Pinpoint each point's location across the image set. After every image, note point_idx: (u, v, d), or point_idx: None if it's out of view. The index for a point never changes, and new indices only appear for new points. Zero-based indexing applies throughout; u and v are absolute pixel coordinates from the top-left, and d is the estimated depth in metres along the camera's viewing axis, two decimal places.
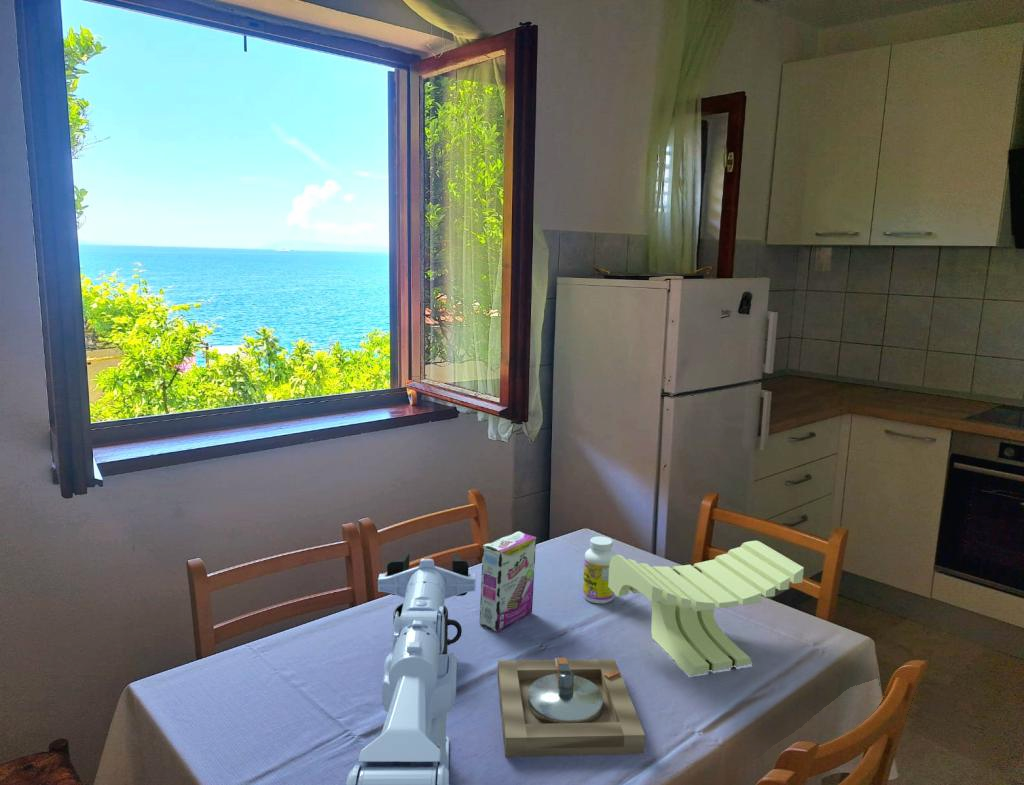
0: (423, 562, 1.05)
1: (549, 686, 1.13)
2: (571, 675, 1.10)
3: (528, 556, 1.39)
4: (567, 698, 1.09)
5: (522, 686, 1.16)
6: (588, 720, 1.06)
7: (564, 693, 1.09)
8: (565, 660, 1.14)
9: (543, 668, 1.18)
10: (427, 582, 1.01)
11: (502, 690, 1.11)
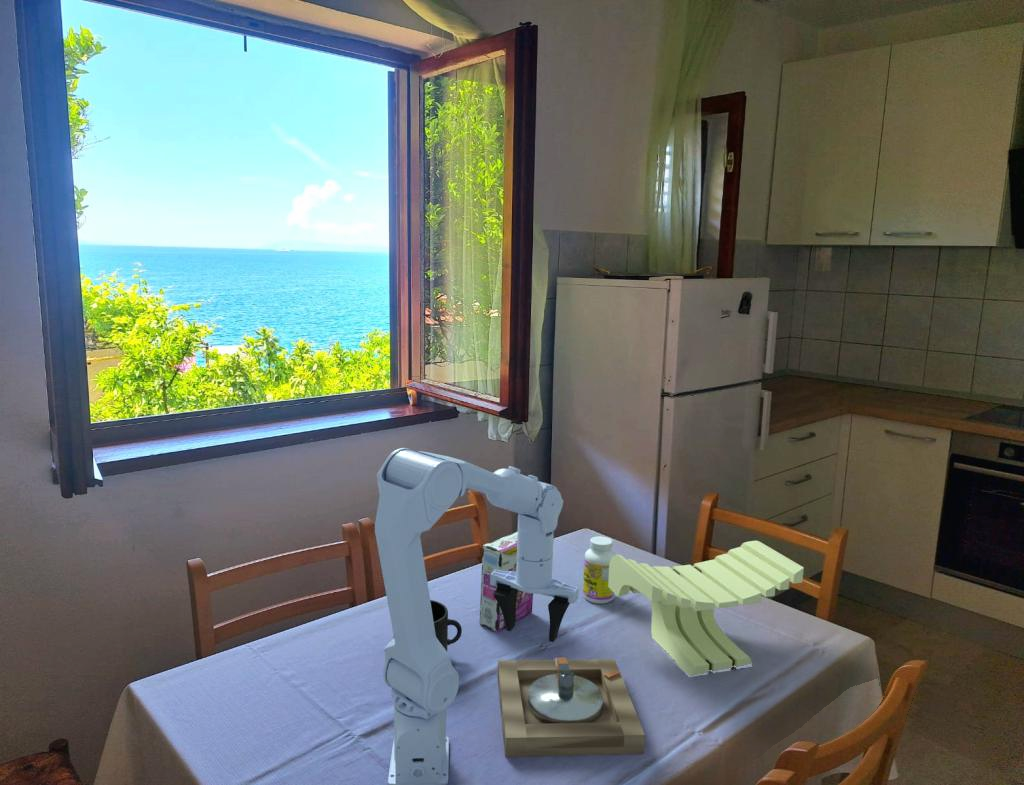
0: None
1: (549, 686, 1.13)
2: (571, 675, 1.10)
3: None
4: (567, 698, 1.09)
5: (522, 686, 1.16)
6: (588, 720, 1.06)
7: (564, 693, 1.09)
8: (565, 660, 1.14)
9: (543, 668, 1.18)
10: None
11: (502, 690, 1.11)
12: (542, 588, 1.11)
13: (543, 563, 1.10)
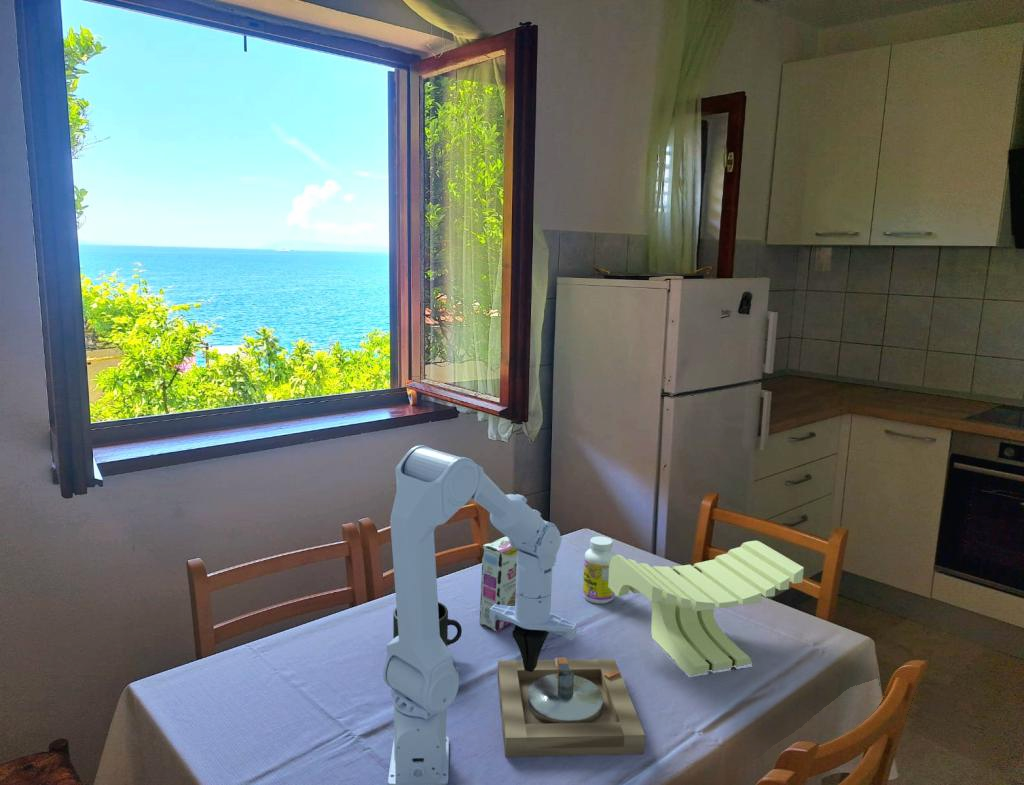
0: None
1: (549, 686, 1.13)
2: (571, 675, 1.10)
3: None
4: (567, 698, 1.09)
5: (522, 686, 1.16)
6: (588, 720, 1.06)
7: (564, 693, 1.09)
8: (565, 660, 1.14)
9: (543, 668, 1.18)
10: None
11: (502, 690, 1.11)
12: (541, 624, 1.12)
13: (542, 599, 1.12)
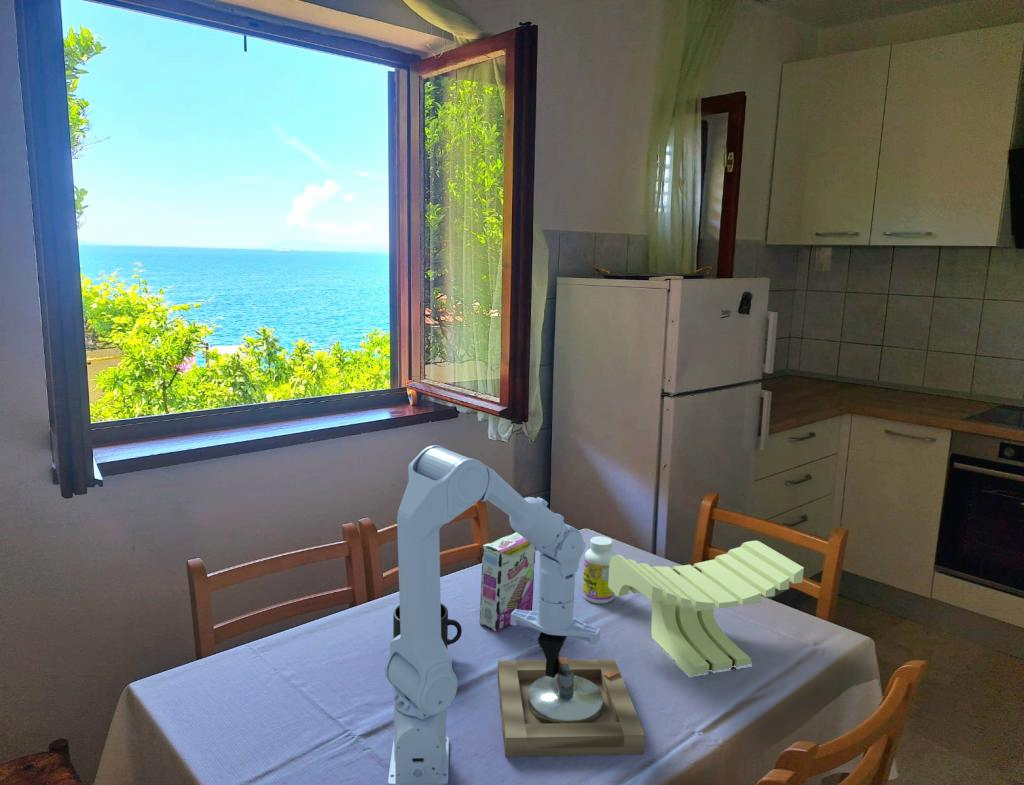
0: None
1: (549, 686, 1.13)
2: (571, 675, 1.10)
3: (528, 556, 1.39)
4: (567, 698, 1.09)
5: (522, 686, 1.16)
6: (588, 720, 1.06)
7: (564, 693, 1.09)
8: (565, 660, 1.14)
9: (543, 668, 1.18)
10: None
11: (502, 690, 1.11)
12: (564, 630, 1.10)
13: (565, 604, 1.10)
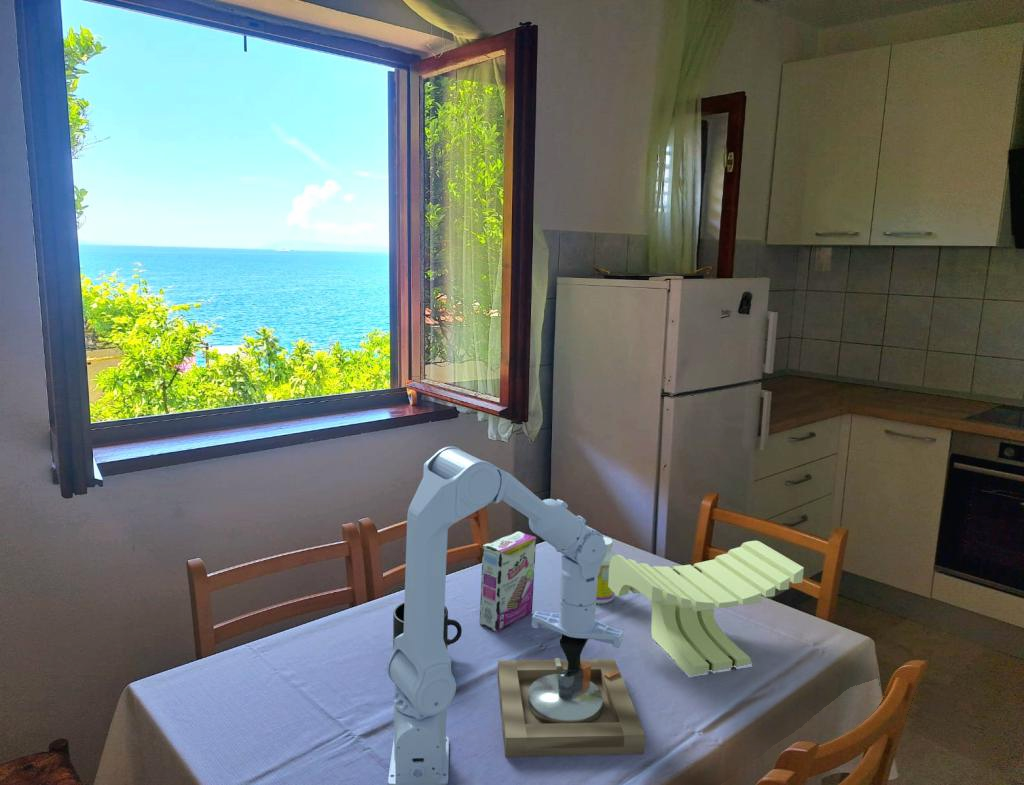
0: None
1: None
2: (569, 677, 1.09)
3: (528, 556, 1.39)
4: (560, 697, 1.10)
5: (522, 686, 1.16)
6: (554, 721, 1.05)
7: (559, 690, 1.10)
8: (586, 666, 1.12)
9: (543, 668, 1.18)
10: None
11: (502, 690, 1.11)
12: (586, 632, 1.10)
13: (588, 607, 1.09)
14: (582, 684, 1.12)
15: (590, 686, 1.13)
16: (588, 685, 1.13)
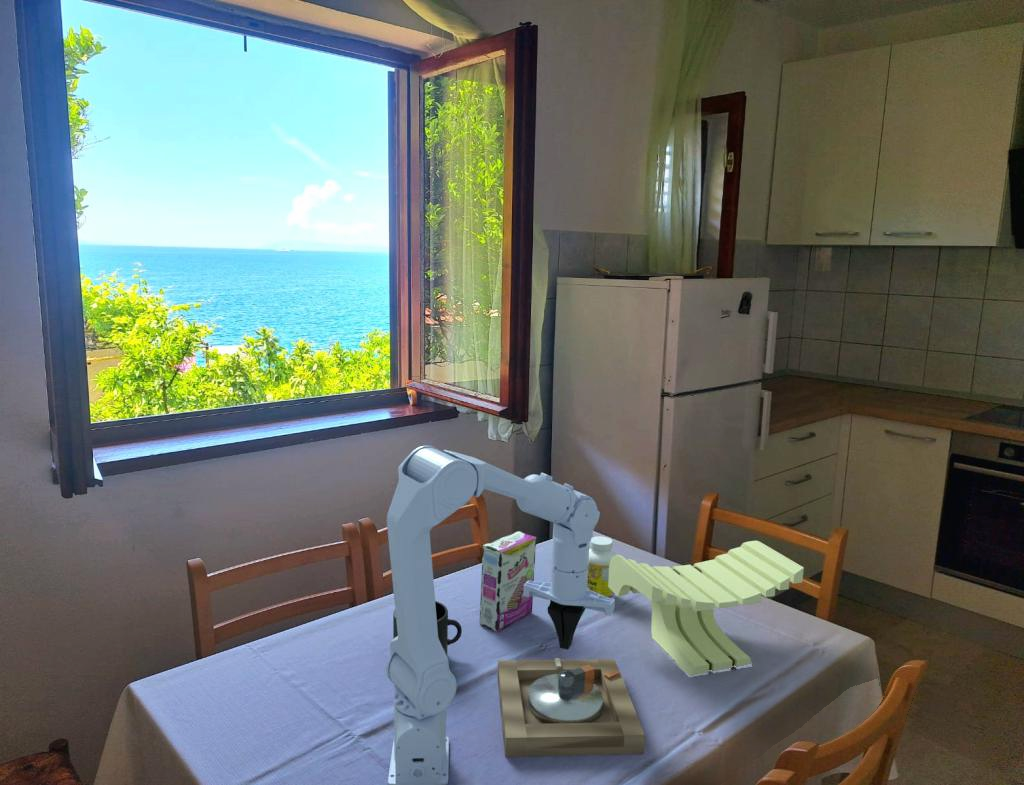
0: None
1: None
2: (568, 677, 1.09)
3: (528, 556, 1.39)
4: (559, 696, 1.10)
5: (522, 686, 1.16)
6: (547, 719, 1.06)
7: (558, 689, 1.10)
8: (589, 669, 1.12)
9: (543, 668, 1.18)
10: None
11: (502, 690, 1.11)
12: (578, 600, 1.09)
13: (579, 574, 1.08)
14: (584, 686, 1.11)
15: (593, 689, 1.12)
16: (591, 688, 1.12)
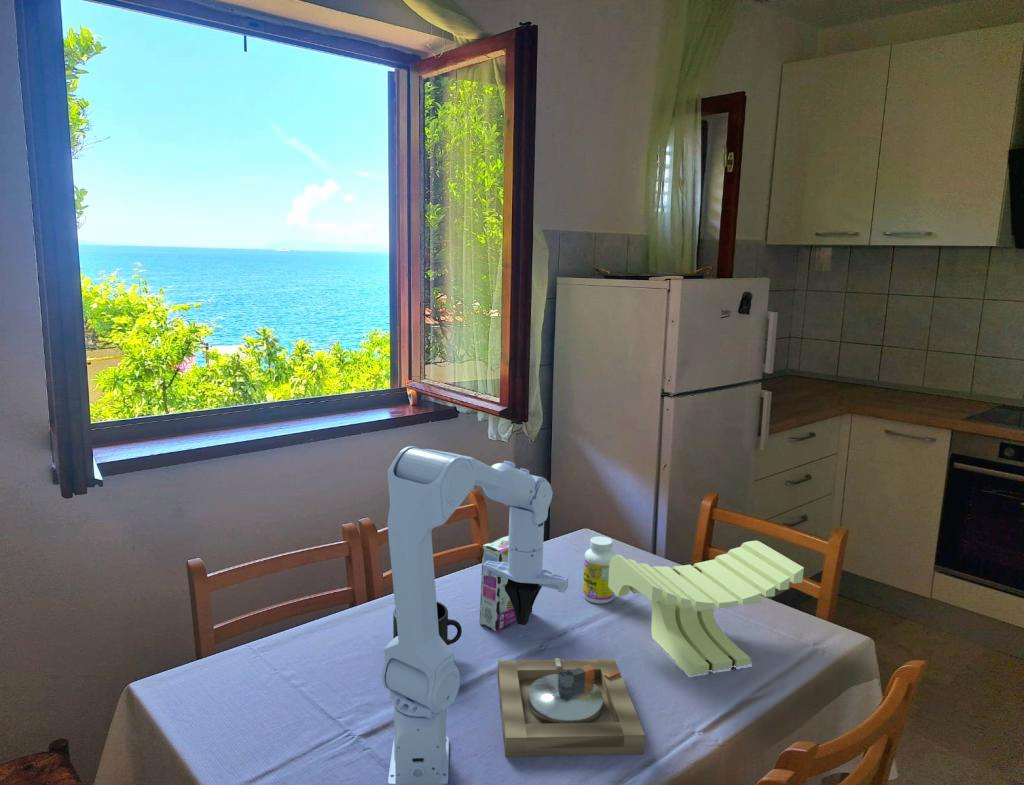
0: None
1: None
2: (568, 677, 1.09)
3: None
4: (559, 696, 1.10)
5: (522, 686, 1.16)
6: (547, 719, 1.06)
7: (558, 689, 1.10)
8: (589, 669, 1.12)
9: (543, 668, 1.18)
10: None
11: (502, 690, 1.11)
12: (533, 578, 1.14)
13: (534, 553, 1.14)
14: (584, 686, 1.11)
15: (593, 689, 1.12)
16: (591, 688, 1.12)
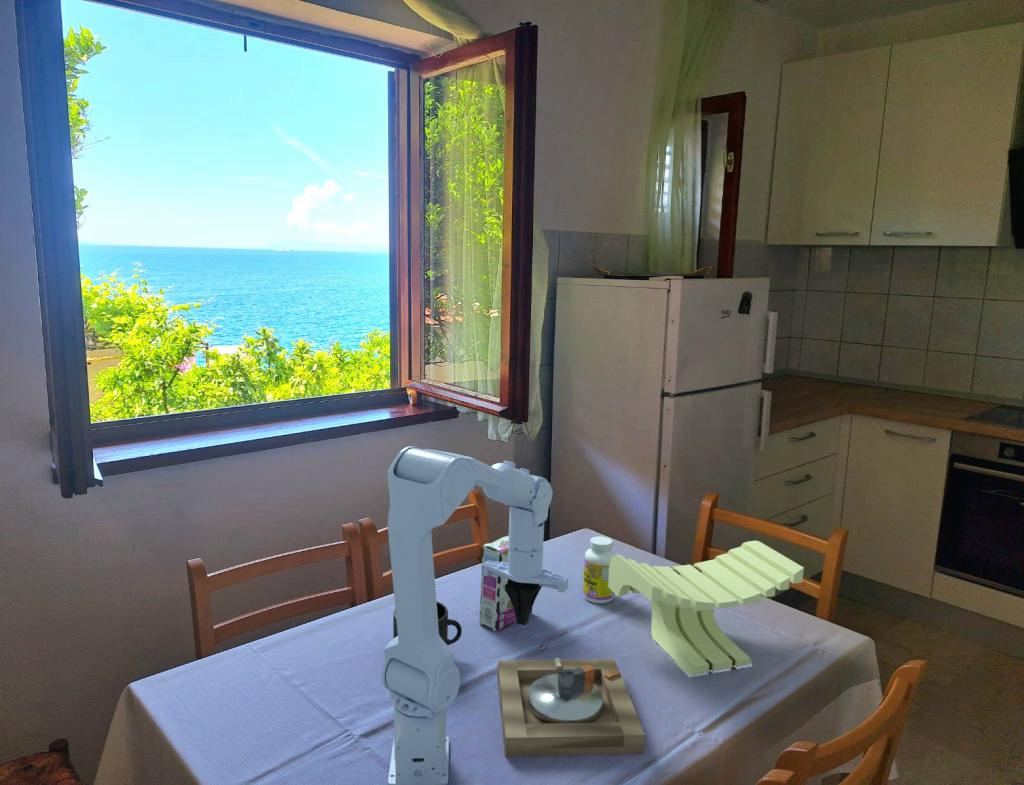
0: None
1: None
2: (568, 677, 1.09)
3: None
4: (559, 696, 1.10)
5: (522, 686, 1.16)
6: (547, 719, 1.06)
7: (558, 689, 1.10)
8: (589, 669, 1.12)
9: (543, 668, 1.18)
10: None
11: (502, 690, 1.11)
12: (533, 578, 1.14)
13: (534, 553, 1.14)
14: (584, 686, 1.11)
15: (593, 689, 1.12)
16: (591, 688, 1.12)
